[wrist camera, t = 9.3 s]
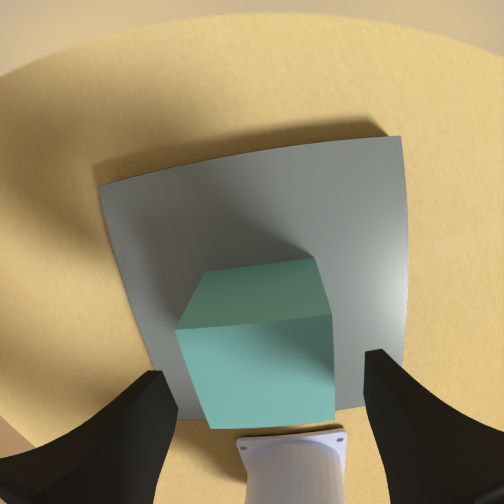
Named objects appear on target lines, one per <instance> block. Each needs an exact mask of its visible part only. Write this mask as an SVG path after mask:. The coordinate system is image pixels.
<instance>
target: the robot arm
mask: <svg viewBox="0 0 504 504" xmlns="http://www.w3.org/2000/svg"><path fill="white" fill-rule="evenodd" d="M363 396H364V401H365V406H366V411H367V415H368V419H369V422H370V425H371V428H372V431H373V434H374V437H375V440H376V443H377V447H378V450H379V453H380V456H381V459H382V462H383V465H384V469H385V473H386V477H387V483H388V489H389V495H390V502H391V504H504V432H503V431H500V430H497V429H494V428H492V427H489V426H487V425H484V424H482V423H480V422H478V421H476V420H474V419H472V418H470V417H468V416H466V415H464V414H462V413H460V412H459V411H457V410H456V409H454V408H452V407H451V406H449V405H447V404H446V403H444V402H443V401H442V400H440V399H439V398H437V397H436V396H435V395H433V394H432V393H431V392H430V391H428V390H427V389H426V388H425V387H423V386H422V385H421V384H420V383H419V382H417V381H416V380H415V379H414V378H413V377H412V376H411V375H409V374H408V373H407V372H406V371H405V370H404V369H403V368H402V367H401V366H400V365H399V364H398V363H397V362H396V361H395V360H394V359H393V358H392V357H391V356H390V355H389V354H388V353H386V352H385V351H384V350H383V349H382V348H381V349H376V350H371V351H365V363H364V386H363ZM178 409H179V408H178V406H177V404H176V402H175V399H174V397H173V395H172V393H171V390H170V388H169V386H168V383H167V381H166V378H165V376H164V374H163V371H162V370H148V371H147V372H145V373H144V374H143V375H142V376H140V377H139V378H138V379H137V380H136V381H135V382H133V383H132V384H131V385H130V386H129V387H128V388H127V389H126V390H124V391H123V392H122V393H121V394H120V395H119V396H117V397H116V398H115V399H114V400H113V401H112V402H111V403H109V404H108V405H107V406H106V407H104V408H103V409H102V410H100V411H99V412H98V413H97V414H95V415H94V416H93V417H92V418H90V419H89V420H87V421H86V422H85V423H83V424H82V425H80V426H78V427H77V428H75V429H74V430H72V431H70V432H69V433H67V434H65V435H63V436H61V437H59V438H57V439H55V440H53V441H51V442H49V443H47V444H45V445H43V446H40V447H38V448H35V449H32V450H30V451H27V452H24V453H21V454H17V455H13V456H9V457H5V458H0V498H1V499H2V500H3V501H4V502H6V503H7V504H153V501H154V495H155V490H156V485H157V482H158V478H159V475H160V472H161V469H162V466H163V463H164V461H165V458H166V455H167V452H168V449H169V446H170V443H171V440H172V437H173V434H174V431H175V426H176V421H177V415H178ZM346 441H347V432H346V430H345V429H343V428H338V429H332V430H325V431H317V432H309V433H300V434H290V435H278V436H263V437H241V438H238V439H237V440H236V446H237V448H238V451H239V454H240V456H241V459H242V462H243V464H244V467H245V469H246V472H247V474H248V479H247V488H246V497H245V504H346V498H345V490H344V482H343V481H344V470H345V457H346Z"/></svg>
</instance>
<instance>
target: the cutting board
mask: <svg viewBox="0 0 504 504" xmlns="http://www.w3.org/2000/svg"><path fill="white" fill-rule="evenodd" d="M97 188H98V193H99V197H100V201H101V206H102V210H103V214H104V218H105V222H106V226H107V230H108V233H109V237H110V241H111V244H112V248H113V251H114V255H115V258H116V262H117V265H118V268H119V272H120V275H121V278H122V281H123V284H124V287H125V291H126V294H127V297H128V300H129V302H130V305H131V308H132V311H133V314H134V317H135V320H136V322H137V325H138V328H139V331H140V333H141V336H142V338H143V341H144V344H145V346H146V349H147V351H148V354H149V356H150V359H151V361H152V364H153V366H154V369H155V370H162V371H163V374H164V376H165V378H166V381H167V383H168V386H169V388H170V390H171V393H172V395H173V397H174V399H175V402H176V404H177V406H178V408H179V409H178V415H177V420H207V419H206V417H205V414H204V412H203V409H202V406H201V404H200V401H199V399H198V396H197V393H196V391H195V388H194V385H193V382H192V380H191V377H190V374H189V371H188V369H187V366H186V363H185V360H184V357H183V354H182V351H181V348H180V345H179V342H178V339H177V336H176V333H175V328H176V326H177V324H178V322H179V320H180V318H181V316H182V315H183V313H184V311H185V309H186V307H187V305H188V303H189V301H190V299H191V298H192V296H193V294H194V292H195V290H196V288H197V286H198V284H199V283H200V281H201V279H202V277H203V275H204V273H205V272H206V271H214V270H222V269H230V268H238V267H246V266H254V265H262V264H270V263H277V262H285V261H293V260H300V259H308V258H315V260H316V263H317V266H318V270H319V273H320V276H321V279H322V282H323V285H324V289H325V292H326V295H327V298H328V302H329V305H330V308H331V312H332V321H333V343H334V376H335V411H337V410H343V409H349V408H355V407H360V406H365V401H364V396H363V386H364V363H365V351H371V350H376V349H381V348H382V349H383V350H384V351H385V352H386V353H388V354H389V355H390V356H391V357H392V358H393V359H394V360H395V361H396V362H397V363H398V364H399V365H400V366H401V367H402V359H403V350H404V340H405V329H406V315H407V298H408V261H409V248H408V211H407V194H406V180H405V169H404V159H403V150H402V142H401V136H385V137H371V138H359V139H348V140H337V141H328V142H319V143H311V144H303V145H295V146H288V147H281V148H274V149H267V150H261V151H255V152H249V153H243V154H237V155H232V156H226V157H221V158H216V159H211V160H205V161H201V162H196V163H191V164H186V165H182V166H177V167H173V168H168V169H164V170H160V171H155V172H151V173H147V174H143V175H139V176H135V177H131V178H127V179H124V180H120V181H116V182H112V183H109V184H105V185H102V186H99V187H97Z"/></svg>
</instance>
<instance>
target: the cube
mask: <svg viewBox="0 0 504 504" xmlns="http://www.w3.org/2000/svg"><path fill="white" fill-rule="evenodd" d="M175 333H176V336H177V339H178V342H179V345H180V348H181V351H182V354H183V357H184V360H185V363H186V366H187V369H188V371H189V374H190V377H191V380H192V382H193V385H194V388H195V391H196V393H197V396H198V399H199V401H200V404H201V406H202V409H203V412H204V414H205V417H206V419H207V422H208V424H209V427H210V429H238V428H262V427H277V426H289V425H299V424H309V423H317V422H325V421H332V420H335V376H334V343H333V321H332V312H331V308H330V305H329V302H328V298H327V295H326V292H325V289H324V285H323V282H322V279H321V276H320V273H319V270H318V266H317V263H316V260H315V258H308V259H300V260H293V261H285V262H277V263H270V264H262V265H254V266H246V267H238V268H230V269H222V270H214V271H206V272H205V273H204V275H203V277H202V279H201V281H200V283H199V284H198V286H197V288H196V290H195V292H194V294H193V296H192V298H191V299H190V301H189V303H188V305H187V307H186V309H185V311H184V313H183V315H182V316H181V318H180V320H179V322H178V324H177V326H176V328H175Z"/></svg>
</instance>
